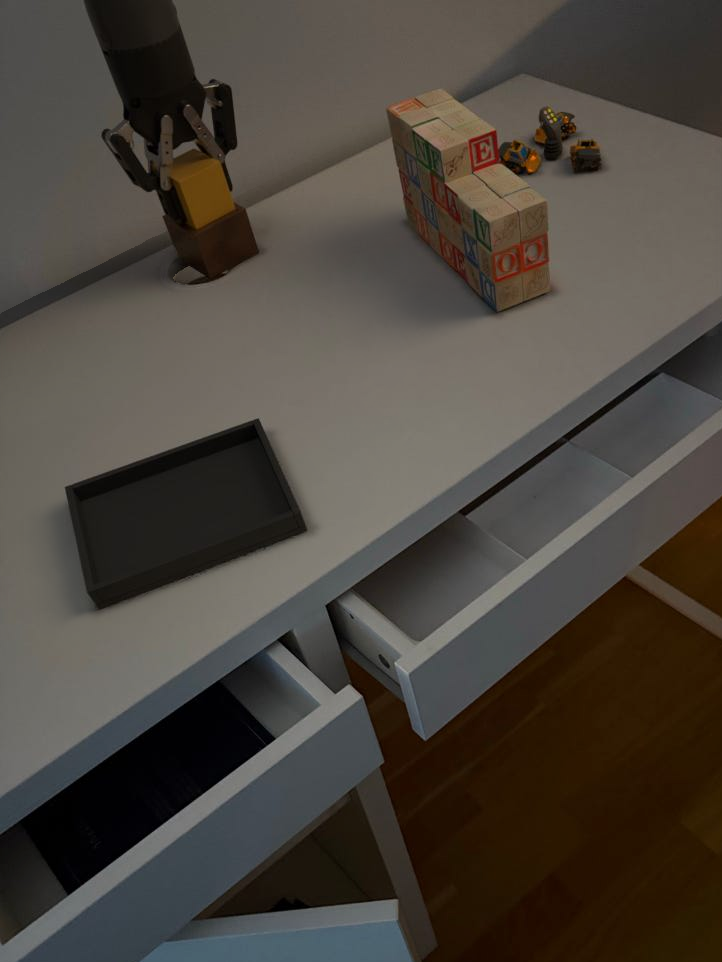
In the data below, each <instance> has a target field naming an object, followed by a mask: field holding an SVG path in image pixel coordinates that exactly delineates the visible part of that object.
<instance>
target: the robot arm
mask: <svg viewBox="0 0 722 962" xmlns="http://www.w3.org/2000/svg"><path fill="white" fill-rule="evenodd" d="M83 4H84V7H85V11H86V14H87V16H88V19H89V21H90V24H91V27H92V29H93V32H94V34H95V37H96V40H97V43H98V44H99V47H100V50H101V52H102V55H103V58H104V60H105V63H106V65H107V67H108V70H109V73H110V76H111V79H112V81H113V83H114V86H115V89H116V90H117V93H118V95H119V98H120V99H121V102H122V108H123V111H122V113H123V114H122V116H123V120H122V121H121V122H119V123H118V124H117V125H116V126H114V128H112V129H110V128H104V129H102V131H101V139H102V140H103V142H104V144H105V145H106V146H107V148H108V150H109V151H110V152H111V155H113V157H114V158H115V160H116V161H117V163H118V164H119V165H120V167H121V168H122V170H123V171H124V173H125V174H126V175H127V177H128V179H129V180H130V181H131V184H132V185H134V186H135V187H138V188H141V189H142V190H143V191H144V192H146V193H151V192H153V191H155V192H156V194H157V195H156V196H157V197H158V200H159V202H160V206H161V207H162V210H163V213H164V215H167V216H168V217H169V218H171V219H173V220H174V221H176V222H178V223H180V224H183V223H185V222H187V218H186V215H185V213H184V210H183V207H182V205H181V202H180V199H179V197H178V194H177V191H176V189H175V187H173V186H172V177H171V166H172V165H173V158H174V151H175V150H176V149H178V148H179V147H180V146H182V144H184V143H190V142H193V143H194V144H195V146H196V147H197V148H198V151H200V152H202V153H204V154H206V155H208V156H210V157H212V158H214V159H216V160H218V161H220V163H221V166H222V169H223V172H224V175H225V178H226V181H227V184H228V187H229V190H230V193H232V192H233V185H234V184H233V183H232V180H231V176H230V173H229V170H228V167H227V163H226V157H227V155H228V153H229V152H230V151H234V150H236V149H237V148H238V136H237V135H238V134H237V128H236V127H237V126H236V117H235V107H234V99H233V90H232V87H231V86H230V85H229V84H227V83H225V82H223V81H220V80H218V79H215V78H211V79H209V81H208V83H203V84H202V83H201V82H200V81H199V80H198V78H197V76H196V72H195V71H196V70H195V66H194V63H193V60H192V57H191V54H190V50H189V47H188V45H187V41H186V39H185V35H184V33H183V29H182V26H181V22H180V20H179V17H178V10H177V7H176V5H175V4H174V2H173V0H83ZM205 103H206V104H207V106H209V107H210V112H211V119H212V120H211V122H212V128H213V133H212V132H211V131H210V129H209V128H208V127H207V126H206V124H205V123H204V121H203V114H204V109H205V105H206V104H205ZM134 132H135V133H136V134H137V135H139V136H140V137H141V138H143V151H144V156H145V158H146V160H147V170H146V169H145V167H144V165H143V164H142V163H141V161H140V159H139V158H138V157H137V155H136V153H135V152H134V149H135V142H134V139H133V134H134Z"/></svg>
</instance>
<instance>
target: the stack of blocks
mask: <svg viewBox="0 0 722 962" xmlns="http://www.w3.org/2000/svg"><path fill="white" fill-rule="evenodd" d="M385 111H386V117H387V121H388V124H389V130H390V135H391V142H392V146H393V152H394V157H395V163H396V167H397V168H398V174H399V181H400V185H401V190H402V195H403V196H402V200H403V204H404V209H405V213H406V214H405V215H406V218H407V222H408V224H409V225H410V226H411V227H412V228H413V230H415V232H417V234H418V235H419V236H420V238H422V240H423V241H424V242H426V243H427V244H428V246H430V248H432V249H433V251H434V252H435V253H436V254H437V255H438V256H439V257H440V258H442V259H444V260H445V261H446V263H448V264H449V265H450V266H451V267H452V269H454V270H455V271H456V272H457V273H459V275H460V276H461V277H462V278H463V279H464V280H465V281H466V282H467V283H468V285H469V286H470V287H471V288H472V289H473V290H474V291H475V292H476V293H477V294H478V295H479V296H480V297H481V298H483V301H485V302H486V303H487V304H488V305H489V306H490V307H491V308H492V309H493V310H494V311H495V312H497V313H498V312H500V311H503V310H505V309H508V308H511V307H513V306H516V305H518V304H520V303H523V302H526V301H529V300H531V299H533V298H536V297H539V296H541V295H544V294H546V293H548V292H550V291H551V273H550V263H549V262H550V249H549V235H548V232H549V212H548V200H547V198H546V197H544V196H543V195H541V194H540V193H539V192H538V191H537V190H535V189H534V188H532V187H531V185H530V184H528V183H527V182H526V181H525V180H523V179H522V178H521V177H519V176H518V175H517V174H515V172H512V170H511V171H510V170H509V169H508V168H506V167H505V166H506V165H505V166H504V165H502V164H499V162H500V158H499V152H498V149H499V143H498V142H499V141H498V135H497V134H498V133H497V129H496V128H494V126H492V125H490V124H489V123H487V122H486V121H485V120H483V119H482V118H480V117H479V116H478V115H476V114H475V113H473V112H472V111H471V110H469V109H468V108H467V107H466V106H464V105H463V103H460V102H459V101H458V100H456V99H455V98H454V97H453V96H452V95H451V94H449V93H448V92H446V91H445V90H444V89H443V88H438V89H434V90H432V91H429V92H426V93H425V92H424V93H421V94H420V95H416V96H414V97H413V98H412V97H411V98H409V99H406V100H402V101H400V102H397V103H394V104H391V105H389V106H387V107H386V108H385Z"/></svg>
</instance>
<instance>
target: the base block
mask: <svg viewBox="0 0 722 962" xmlns="http://www.w3.org/2000/svg"><path fill="white" fill-rule="evenodd" d="M233 203H234V206H235V210H233V211H231V212H229V213H227V214H225V215H223V216H222V217H220V218H218V219H216V220H214V221H212V222H210V223H208V224H206V225H205V226H203V227H201V228H199V229H197V230H196V229H194V228H193V227H191V226H189V225H188V224H186V223H183V224H180V223H178V222H176V221H174V220H173V219H171V218H169V217H168V216H167V215H166V214H163V215H162V220H163V222H164V224H165V227H166V231H167V232H168V235H169V237H170V240H171V242H172V246H173V247H174V251H175V252H176V255H177V258H178V260H179V261H181V262H182V263H184V264H185V265H187V266H189V267H190V268H192V269H193V270H195V271H196V272H198V273H200V274H201V275H203V276H204V277H206V278H208V279H209V280H212V279H214V278H216V277H219V276H220V275H221V274H224V273H225V272H227V271H229V270H230V269H232V268H234V267H236V266H238V265H239V264H241V263H243V262H244V261H247V260H248V259H250V258H252V257H254V256H255V255H258V254H259V253H260V250H259V247H258V246H259V245H258V243H257V241H256V237H255V234H254V231H253V228H252V224H251V221H250V218H249V215H248V212H247V209H246V208H245V207H243V206H242V205H240V204H238V203H237V202H235V201H233Z"/></svg>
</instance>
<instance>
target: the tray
mask: <svg viewBox="0 0 722 962" xmlns="http://www.w3.org/2000/svg"><path fill="white" fill-rule="evenodd" d="M274 451H275V450H274V449H273V447H272V445H271V442H270V440H269V438H268V436H267V433H266V431H265V429H264V426H263V424H262V422H261V419H260V418H259V417H257V418H254V419H252V420H249V421H246V422H243V423H240V424H237V425H235V426H232V427H230V428H227V429H224V430H220V431H218V432H215V433H213V434H210V435H209V434H208V435H207V436H204V437H201V438H199V439H195V440H193V441H190V442H187V443H184V444H182V445H179V446H175V447H173V448H170V449H167V450H164V451H162V452H159V453H156V454H153V455H151V456H147V457H144V458H142V459H139V460H137V461H134V462H131V463H128V464H125V465H122V466H120V467H116V468H114V469H111V470H108V471H105V472H103V473H100V474H96V475H94V476H92V477H88V478H85V479H83V480H80V481H77V482H75V483H72V484H69V485H67V486H64V491H65V497H66V500H67V505H68V509H69V514H70V519H71V523H72V528H73V533H74V537H75V543H76V546H77V551H78V556H79V561H80V566H81V570H82V574H83V580H84V583H85V589H86V593H87V595H88V596H89V597H90V599H91V600H92V602H93V603H94V605H95V606H96V607H97V609H98V610H102V609H104V608H107V607H109V606H112V605H114V604H118V603H120V602H123V601H125V600H127V599H130V598H133V597H137V596H139V595H141V594H144V593H146V592H149V591H151V590H154V589H157V588H160V587H162V586H165V585H168V584H170V583H173V582H175V581H178V580H181V579H183V578H186V577H188V576H191V575H193V574H197V573H199V572H203V571H204V570H207V569H209V568H212V567H215V566H218V565H220V564H223V563H225V562H228V561H230V560H231V561H232V560H233V559H236V558H239V557H241V556H244V555H247V554H249V553H252V552H255V551H257V550H260V549H262V548H265V547H268V546H270V545H273V544H276V543H278V542H281V541H284V540H286V539H289V538H291V537H294V536H297V535H299V534H302V533H304V532H308V527H307V525H306V522H305V519H304V517H303V514H302V512H301V509H300V507H299V505H298V503H297V501H296V498H295V496H294V493H293V491H292V489H291V487H290V485H289V483H288V480H287V478H286V475H285V474H284V471H283V469H282V467H281V465H280V463H279V460H278V458H277V455H276V454H275V452H274Z"/></svg>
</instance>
